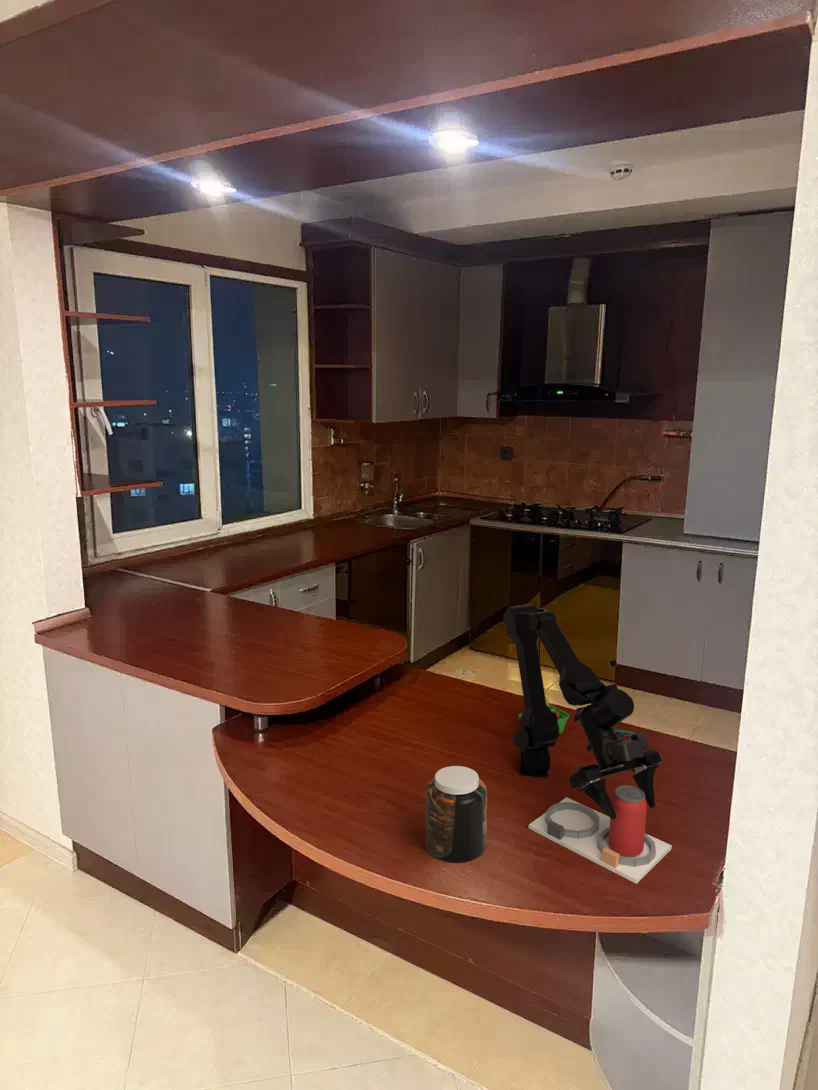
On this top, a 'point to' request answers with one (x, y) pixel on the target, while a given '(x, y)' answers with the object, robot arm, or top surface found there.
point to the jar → (456, 815)
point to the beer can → (628, 821)
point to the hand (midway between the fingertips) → (634, 813)
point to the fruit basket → (561, 715)
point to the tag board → (596, 839)
